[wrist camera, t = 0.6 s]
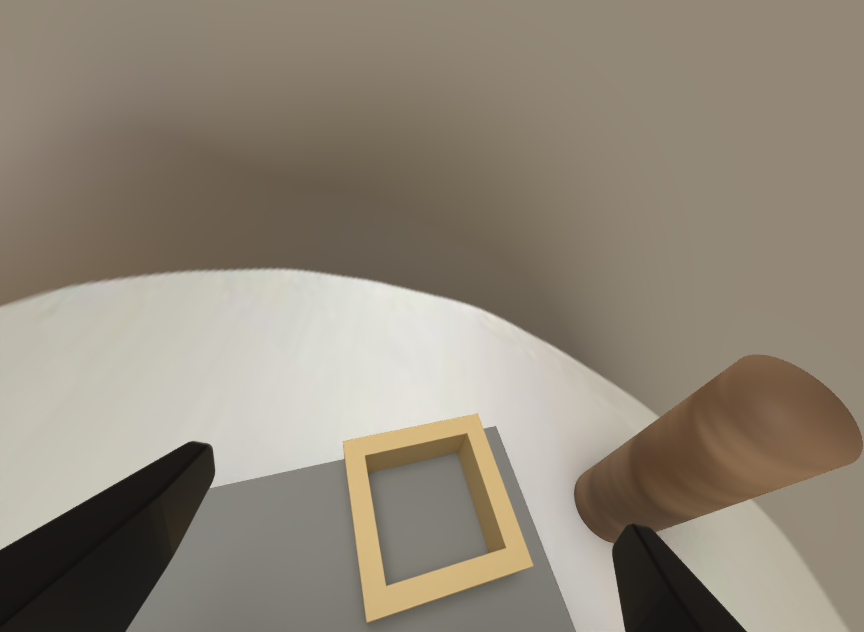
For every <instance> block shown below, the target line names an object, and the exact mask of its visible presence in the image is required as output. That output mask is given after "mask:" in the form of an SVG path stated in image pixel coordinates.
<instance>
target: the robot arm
mask: <svg viewBox="0 0 864 632" xmlns="http://www.w3.org/2000/svg"><path fill="white" fill-rule="evenodd" d="M214 476H215V464H214V455H213V448H212V446H211V445H210V444H207V443H202V442H197V441H191V442H188V443H186V444H184V445H182V446H181V447H179V448H177V449H175V450H174V451H172V452H170V453H168V454H167V455H165V456H163V457H161V458H160V459H158V460H156V461H154V462H153V463H151V464H149V465H148V466H146V467H144V468H142V469H141V470H139V471H137V472H135V473H134V474H132V475H130V476H128V477H127V478H125V479H123V480H121V481H120V482H118V483H116V484H114V485H113V486H111V487H109V488H107V489H106V490H104V491H102V492H100V493H99V494H97V495H95V496H93V497H92V498H90V499H88V500H86V501H85V502H83V503H81V504H80V505H78V506H76V507H74V508H73V509H71V510H69V511H67V512H66V513H64V514H62V515H60V516H59V517H57V518H55V519H53V520H52V521H50V522H48V523H46V524H45V525H43V526H41V527H39V528H38V529H36V530H34V531H32V532H31V533H29V534H27V535H25V536H24V537H22V538H20V539H19V540H17V541H15V542H13V543H12V544H10V545H8V546H6V547H5V548H3V549H1V550H0V632H126V630H127V629H128V627H129V626H130V624H131V623H132V621H133V620H134V618H135V616H136V615H137V613H138V612H139V610H140V609H141V607H142V605H143V604H144V602H145V601H146V599H147V598H148V596H149V595H150V593H151V591H152V590H153V588H154V587H155V585H156V584H157V582H158V580H159V579H160V577H161V576H162V574H163V573H164V571H165V570H166V568H167V566H168V565H169V563H170V561H171V560H172V558H173V556H174V555H175V553H176V551H177V549H178V547H179V545H180V544H181V542H182V540H183V538H184V536H185V534H186V532H187V530H188V528H189V526H190V524H191V522H192V520H193V518H194V517H195V515H196V513H197V511H198V509H199V507H200V505H201V503H202V501H203V499H204V497H205V495H206V493H207V491H208V489H209V488H210V486H211V484H212V482H213V479H214ZM612 557H613V563H614V569H615V575H616V580H617V586H618V592H619V598H620V604H621V610H622V615H623V621H624V627H625V632H747V631H746V630H745V629H744V628H743V627H742V626H741V625H740V624H739V623H738V622H737V620H736V619H735V618H734V617H733V616H732V615H731V614H730V613H729V612H728V611H727V610H726V609H725V607H724V606H723V605H722V604H721V603H720V602H719V601H718V600H717V599H716V598H715V597H714V595H713V594H712V593H711V592H710V591H709V590H708V589H707V588H706V587H705V586H704V585H703V584H702V582H701V581H700V580H699V579H698V578H697V577H696V576H695V575H694V574H693V573H692V572H691V571H690V569H689V568H688V567H687V566H686V565H685V564H684V563H683V562H682V561H681V560H680V559H679V558H678V556H677V555H676V554H675V553H674V552H673V551H672V550H671V549H670V548H669V547H668V546H667V545H666V543H665V542H664V541H663V540H662V539H661V538H660V537H659V536H658V535H657V534H656V533H655V532H654V531H653V530H652V529H651V528H650V527H648V526H646V525H642V524H636V523H628V524H627V525H626V526H625V527H624V529H623V531H622V532H621V534H620V535H619V537H618V538H617V540H616V541H615V543H614V545H613V549H612Z"/></svg>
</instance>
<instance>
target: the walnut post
mask: <svg viewBox="0 0 864 632" xmlns="http://www.w3.org/2000/svg"><path fill="white" fill-rule="evenodd" d="M862 447H863V442H862V436H861V433H860V430H859V428H858V426H857V423H856V421H855V420H854V418H853V416H852V415H851V413H850V412H849V410H848V409H847V408H846V407H845V405H844V404H843V403H842V402H841V400H840V399H839V398H838V397H837V396H836V395H835V394H834V393H833V392H832V391H831V390H830V389H828V388H827V387H826V386H825V385H824V384H823V383H821V382H820V381H819V380H817V379H816V378H815V377H813V376H812V375H810V374H809V373H807V372H805V371H804V370H802V369H801V368H799V367H797V366H795V365H793V364H791V363H789V362H786V361H784V360H781V359H778V358H775V357H771V356H766V355H749V356H746V357H743V358H741V359H740V360H738V361H737V362H735V363H734V364H733V365H731V366H730V367H729V368H727V369H726V370H725V371H723V372H722V373H720V374H719V375H718V376H716V377H715V378H714V379H712V380H711V381H710V382H708V383H707V384H705V385H704V386H703V387H701V388H700V389H699V390H697V391H696V392H694V393H693V394H692V395H690V396H689V397H688V398H686V399H685V400H683V401H682V402H681V403H679V404H678V405H677V406H675V407H674V408H672V409H671V410H670V411H668V412H667V413H666V414H664V415H663V416H661V417H660V418H659V419H657V420H656V421H655V422H653V423H652V424H650V425H649V426H648V427H646V428H645V429H644V430H642V431H641V432H640V433H638V434H637V435H635V436H634V437H633V438H631V439H630V440H629V441H627V442H626V443H624V444H623V445H622V446H620V447H619V448H618V449H616V450H615V451H613V452H612V453H611V454H609V455H608V456H607V457H605V458H604V459H603V460H601V461H600V462H598V463H597V464H596V465H594V466H593V467H592V468H590V469H589V470H587V471H586V472H585V473H583V474H582V475H581V476H580V477H579V479H578V481H577V483H576V485H575V492H574V496H575V503H576V507H577V510H578V512H579V514H580V516H581V518H582V520H583V521H584V523H585V524H586V525H587V526H588V528H589V529H590V530H591V531H592V532H594V533H595V534H596V535H597V536H599V537H600V538H602V539H604V540H606V541H609V542H612V543H615V541H616V540H617V538H618V537H619V535H620V534H621V532H622V531H623V529H624V527H625V526H626V525H627V524H628V523H636V524H642V525H646V526H648V527H650V528H651V529H652V530H653V531H654V532H657V531H660V530H663V529H666V528H669V527H672V526H674V525H677V524H680V523H683V522H686V521H689V520H692V519H694V518H697V517H700V516H703V515H706V514H709V513H712V512H714V511H717V510H720V509H723V508H726V507H729V506H732V505H734V504H737V503H740V502H743V501H746V500H749V499H752V498H754V497H757V496H760V495H763V494H766V493H768V492H772V491H774V490H777V489H780V488H783V487H786V486H789V485H792V484H794V483H797V482H800V481H803V480H806V479H808V478H812V477H814V476H817V475H820V474H823V473H826V472H828V471H831V470H834V469H837V468H840V467H843V466H846V465H848V464H851V463H853V462H855V461H856V460H857V459H858V458H859V456H860V455H861V452H862Z"/></svg>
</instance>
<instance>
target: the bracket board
mask: <svg viewBox="0 0 864 632" xmlns="http://www.w3.org/2000/svg"><path fill="white" fill-rule="evenodd" d="M343 448H344V458H345V459H343V460H338V461H334V462H329V463H324V464H320V465H315V466H311V467H306V468H302V469H297V470H292V471H288V472H283V473H279V474H274V475H269V476H265V477H260V478H256V479H251V480H247V481H242V482H237V483H233V484H228V485H224V486H219V487H214V488H210V489H208V491H207V493H206V495H205V497H204V499H203V501H202V503H201V505H200V507H199V509H198V511H197V513H196V515H195V517H194V518H193V520H192V522H191V524H190V526H189V528H188V530H187V532H186V534H185V536H184V538H183V540H182V542H181V544H180V545H179V547H178V549H177V551H176V553H175V555H174V556H173V558H172V560H171V561H170V563H169V565H168V566H167V568H166V570H165V571H164V573H163V574H162V576H161V577H160V579H159V580H158V582H157V584H156V585H155V587H154V588H153V590H152V591H151V593H150V595H149V596H148V598H147V599H146V601H145V602H144V604H143V605H142V607H141V609H140V610H139V612H138V613H137V615H136V616H135V618H134V620H133V621H132V623H131V624H130V626H129V627H128V629H127V630H126V632H576V630H575V628H574V625H573V623H572V620H571V618H570V615H569V612H568V610H567V607H566V605H565V602H564V600H563V597H562V595H561V592H560V589H559V587H558V584H557V582H556V579H555V577H554V574H553V571H552V569H551V566H550V564H549V561H548V559H547V556H546V553H545V551H544V548H543V546H542V543H541V541H540V538H539V536H538V533H537V530H536V528H535V525H534V523H533V520H532V518H531V515H530V512H529V510H528V507H527V505H526V502H525V500H524V497H523V494H522V492H521V489H520V487H519V484H518V482H517V479H516V476H515V474H514V471H513V469H512V466H511V464H510V461H509V459H508V456H507V453H506V451H505V448H504V446H503V443H502V441H501V438H500V435H499V433H498V430H497V428H496V426H494V427H490V428H485V429H483V427H482V424H481V421H480V418H479V416H478V414H473V415H468V416H463V417H459V418H454V419H449V420H444V421H439V422H434V423H429V424H424V425H420V426H415V427H410V428H405V429H400V430H395V431H390V432H385V433H381V434H376V435H371V436H366V437H361V438H356V439H351V440H346V441H343Z"/></svg>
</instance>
